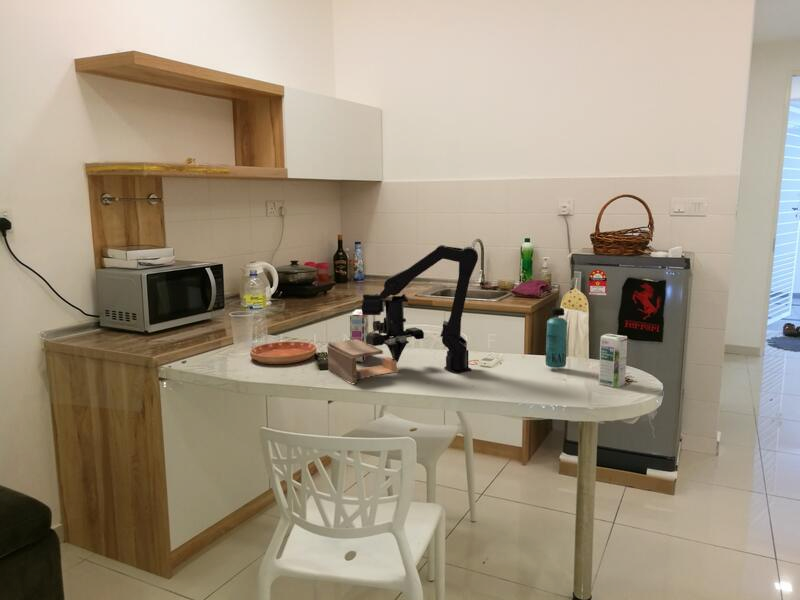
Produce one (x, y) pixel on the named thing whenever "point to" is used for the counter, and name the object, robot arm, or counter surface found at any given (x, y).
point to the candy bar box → (359, 329)
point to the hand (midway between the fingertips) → (395, 362)
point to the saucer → (283, 352)
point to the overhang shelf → (348, 358)
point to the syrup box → (612, 360)
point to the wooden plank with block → (380, 368)
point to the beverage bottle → (556, 340)
